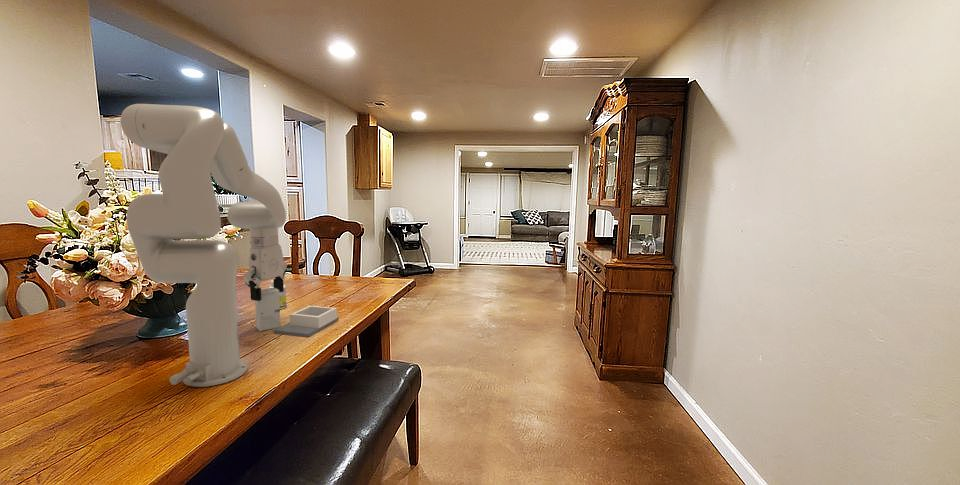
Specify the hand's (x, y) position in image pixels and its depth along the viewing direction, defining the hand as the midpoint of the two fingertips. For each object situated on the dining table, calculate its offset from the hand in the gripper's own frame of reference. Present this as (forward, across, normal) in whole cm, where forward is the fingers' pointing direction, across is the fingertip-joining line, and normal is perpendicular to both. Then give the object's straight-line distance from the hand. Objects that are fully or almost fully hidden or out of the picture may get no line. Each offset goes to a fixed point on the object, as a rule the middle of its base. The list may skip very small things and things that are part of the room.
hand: (267, 295), depth 122 cm
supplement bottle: (+11, +17, +11) cm, 23 cm away
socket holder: (+10, +3, -11) cm, 15 cm away
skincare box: (+10, -1, 0) cm, 10 cm away
